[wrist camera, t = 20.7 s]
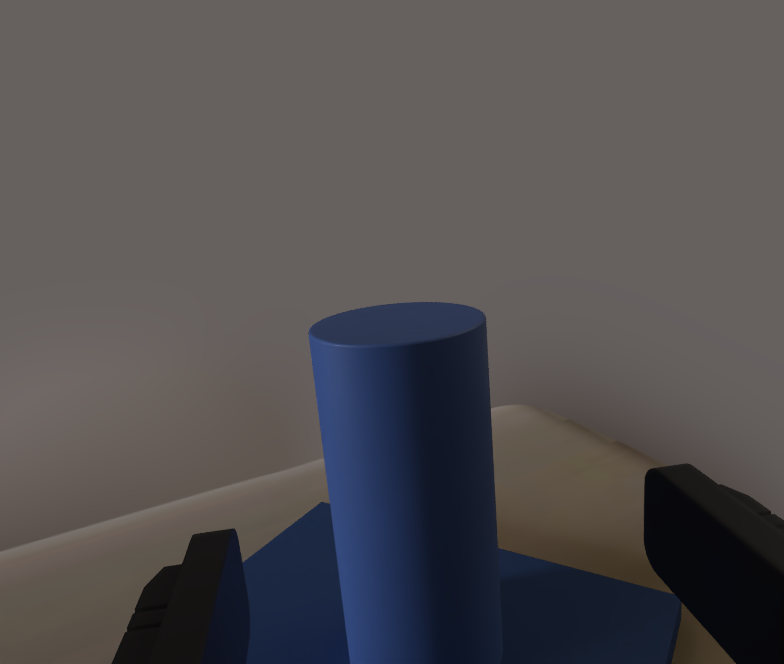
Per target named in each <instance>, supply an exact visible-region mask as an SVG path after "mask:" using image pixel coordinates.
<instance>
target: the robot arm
mask: <svg viewBox="0 0 784 664" xmlns="http://www.w3.org/2000/svg"><path fill="white" fill-rule="evenodd" d="M644 546H645V550H646V554H647V557H648V560H649V562H650V564H651V566H652V568H653V569H654V571H655V572H656V574H657V575H658V576H659V577H660V578H661V579H662V580H663V581H664V583H665V584H666V585H667V586H668V587H669V588H670V589H671V591H672V592H673V593H674V594H675V595H676V596H677V597H678V598H679V600H680V601H681V602H682V603H683V604H684V605H685V606H686V607H687V609H688V610H689V611H690V612H691V613H692V614H693V615H694V616H695V618H696V619H697V620H698V621H699V622H700V623H701V624H702V625H703V627H704V628H705V629H706V630H707V631H708V632H709V633H710V635H711V636H712V637H713V638H714V639H715V640H716V641H717V642H718V644H719V645H720V646H721V647H722V648H723V649H724V650H725V651H726V653H727V654H728V655H729V656H730V657H731V658H732V659H733V660H734V662H735V663H736V664H784V520H782V519H781V518H780V517H778V516H777V515H775V514H773V515H772V514H771V511H769V510H768V509H767V508H766V507H764V506H763V505H761V504H760V503H758V502H757V501H756V500H754V499H753V498H751V497H750V496H748V495H746V494H743V493H741V492H738V491H736V490H733V489H731V488H728V487H726V486H724V485H718V484H717V483H715V482H714V481H713V480H711V479H710V478H709V477H707V476H706V475H705V474H703V473H702V472H700V471H699V470H697V469H696V468H695V467H693V466H692V465H690V464H680V465H673V466H666V467H659V468H652V469H649V470H648V471H647V473H646V476H645V486H644ZM249 639H250V607H249V599H248V593H247V588H246V582H245V576H244V570H243V564H242V558H241V552H240V546H239V541H238V536H237V533H236V530H235V529H227V530H220V531H213V532H206V533H199V534H194V535H193V536H192V538H191V540H190V543H189V546H188V549H187V552H186V554H185V557H184V560H183V563H182V564H180V565H174V566H167V567H164V568H163V569H162V570H161V571H160V572H159V573H158V574H157V575H156V576H155V577H154V578H153V579H152V580H151V581H150V582H149V583H148V584H147V585H146V586H145V587H144V589H143V591H142V594H141V596H140V598H139V601H138V603H137V605H136V608H135V613H134V614H133V615H132V617H131V620H130V622H129V624H128V627H127V632H125V634H124V636H123V638H122V641H121V643H120V645H119V648H118V650H117V653H116V655H115V657H114V660H113V662H112V664H246V660H247V653H248V646H249Z"/></svg>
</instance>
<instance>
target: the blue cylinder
mask: <svg viewBox="0 0 784 664" xmlns="http://www.w3.org/2000/svg"><path fill="white" fill-rule="evenodd" d="M309 340H310V349H311V357H312V365H313V373H314V381H315V389H316V396H317V404H318V412H319V420H320V428H321V435H322V444H323V452H324V460H325V468H326V476H327V484H328V492H329V500H330V508H331V516H332V523H333V531H334V539H335V547H336V555H337V563H338V571H339V579H340V587H341V595H342V603H343V611H344V619H345V627H346V635H347V642H348V650H349V658H350V664H501V660H502V657H503V637H502V617H501V598H500V579H499V560H498V541H497V521H496V502H495V483H494V464H493V445H492V425H491V407H490V388H489V368H488V349H487V330H486V317H485V315H484V314H483V312H481V311H480V310H478V309H476V308H473V307H469V306H465V305H460V304H453V303H452V304H451V303H439V302H413V303H397V304H387V305H379V306H372V307H366V308H360V309H355V310H351V311H347V312H343V313H339V314H336V315H333V316H330V317H327V318H325V319H323V320H321V321H319V322H317V323H315V324H314V325H313V326H312V327H311V328H310V330H309Z"/></svg>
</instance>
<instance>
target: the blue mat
mask: <svg viewBox="0 0 784 664" xmlns="http://www.w3.org/2000/svg"><path fill="white" fill-rule="evenodd" d="M498 560H499V579H500V598H501V617H502V637H503V657H502V660H501V664H671V662H672V657H673V653H674V648H675V644H676V639H677V635H678V630H679V626H680V621H681V601H680V600H679V598H678V597H677V596H676V595H674V594H670V593H667V592H663V591H659V590H655V589H651V588H648V587H644V586H640V585H636V584H632V583H628V582H625V581H621V580H617V579H613V578H609V577H606V576H602V575H598V574H594V573H590V572H587V571H583V570H579V569H575V568H571V567H568V566H564V565H560V564H556V563H552V562H549V561H545V560H541V559H537V558H533V557H530V556H526V555H522V554H518V553H514V552H510V551H507V550H503V549H499V548H498ZM242 564H243V570H244V576H245V582H246V588H247V593H248V599H249V607H250V639H249V646H248V653H247V660H246V664H350V658H349V650H348V642H347V635H346V627H345V619H344V611H343V603H342V595H341V587H340V579H339V571H338V563H337V555H336V547H335V539H334V531H333V523H332V516H331V508H330V504H328V503H324V502H321V503H320V504H318V505H317V506H316V507H314V508H313V509H312V510H310V511H309V512H308V513H307V514H305V515H304V516H303V517H301V518H300V519H299V520H297V521H296V522H295V523H294V524H292V525H291V526H290V527H288V528H287V529H286V530H285V531H283V532H282V533H281V534H279V535H278V536H277V537H275V538H274V539H273V540H272V541H270V542H269V543H268V544H266V545H265V546H264V547H262V548H261V549H260V550H259V551H257V552H256V553H255V554H253V555H252V556H251V557H250V558H248V559H247V560H246V561H244V562H243V563H242Z"/></svg>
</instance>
